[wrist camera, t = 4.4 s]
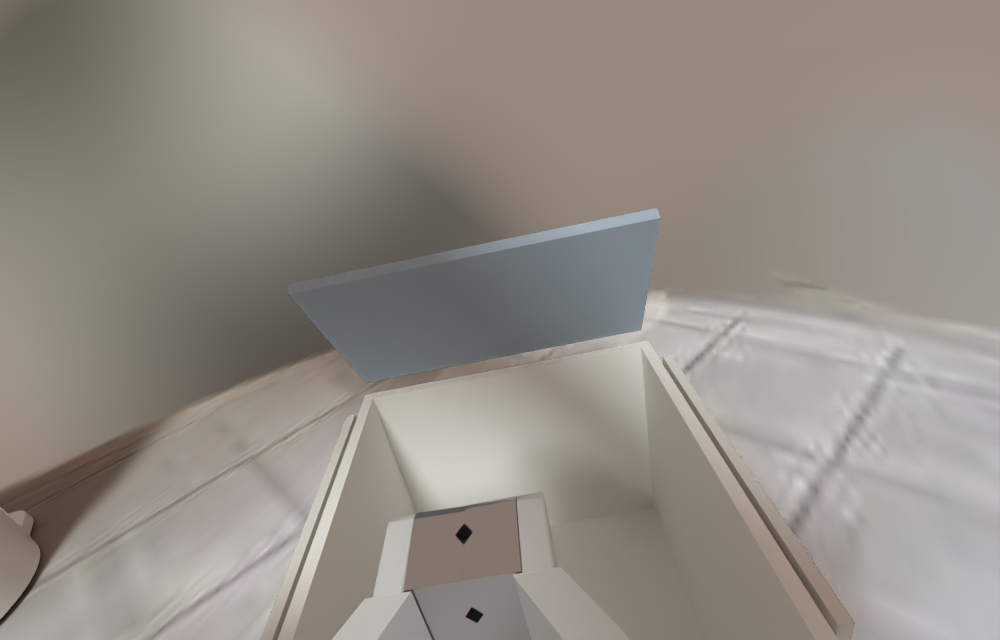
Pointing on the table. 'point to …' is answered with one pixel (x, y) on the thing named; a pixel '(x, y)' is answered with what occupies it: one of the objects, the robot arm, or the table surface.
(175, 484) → the table surface
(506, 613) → the robot arm
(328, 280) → the flap
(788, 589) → the shipping box
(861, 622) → the table surface
